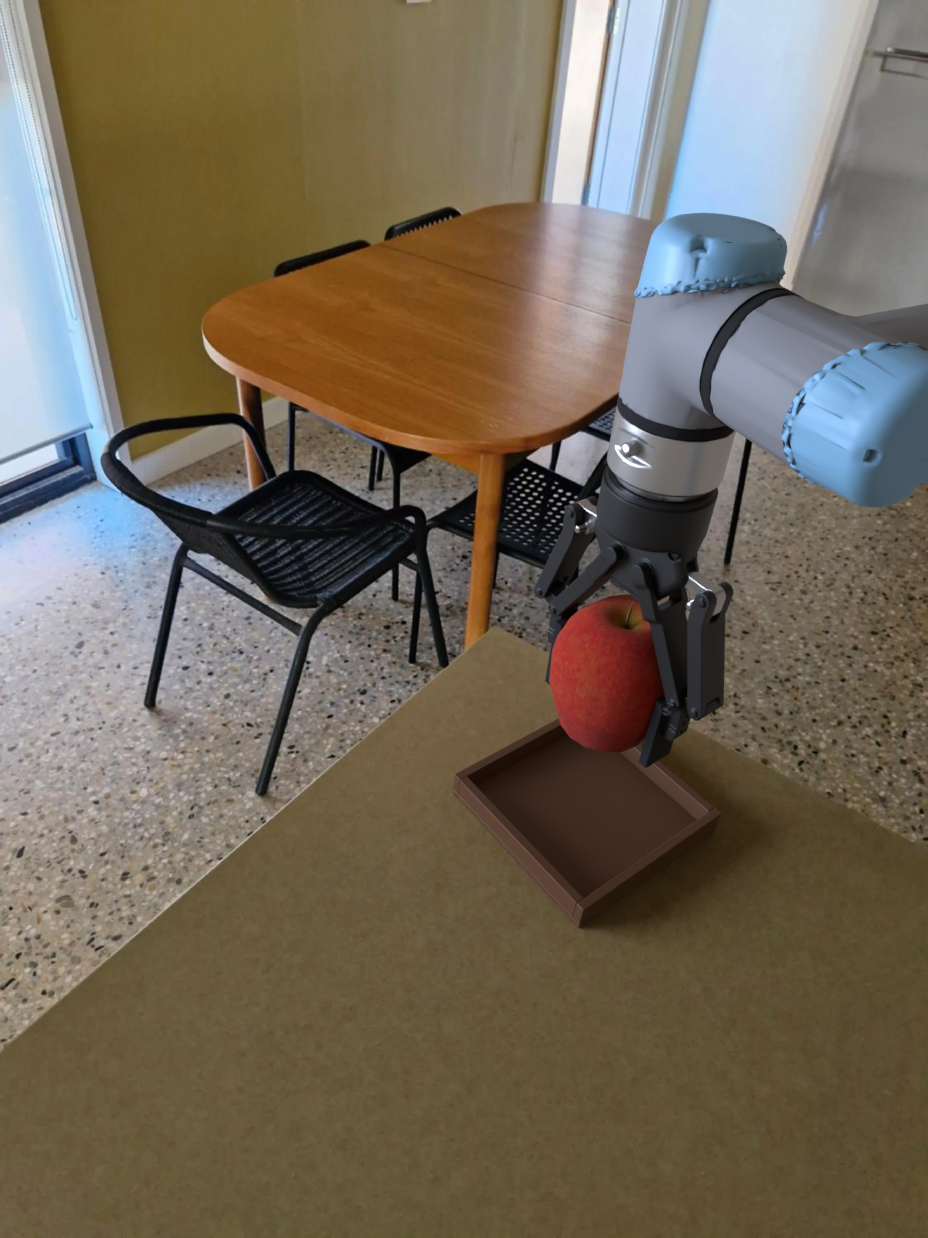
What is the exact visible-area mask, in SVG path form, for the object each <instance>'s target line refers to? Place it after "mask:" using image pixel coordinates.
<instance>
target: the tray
mask: <svg viewBox="0 0 928 1238" xmlns="http://www.w3.org/2000/svg"><path fill="white" fill-rule="evenodd" d="M642 748H643V745H642V744H641V743H639V744H638V745H637V746H636V747H633V748H631V749H628V750H626V751H623V752H602V751H598V750H594V749H590V748H586V747H584V746H582V745H581V744H579V743H578V742H576V741H575V740H573V739H572V738H570V737H569V736H568V734H567V733H566V731H565V730H564V729H563V727H562V726H561V725H560V721H559V718H557V719H555V720H553V721H551V722H549V723H547V724H546V725H545V724H544V725H543V726H542V727H539V728H538V729H536V730H534V731H532V732H530V733H528V734H527V735H525V736H523V737H521V738H519V739H517V740H516V741H514V742H512V743H510V744H508V745H506V746H504V747H503V748H501V749H499V750H497V751H494V753H492V754H490V755H487V756H486V757H484V758H482V759H480V760H479V761H477V762H475V763H472V764H470V765H469V766H467V767H466V768H464V769H462V770H460V771H458V772H456V773H455V774H454V778H453V787H452V794H453V795H455V796H456V798H457V799H458V800H459V801H460V802H461V803H462V805H464V807H465V808H466V809H467V810H468V811H469V812H470V813H471V814H472V815H473V817H475V818H476V819H477V820H478V821H479V822H480V824H481V825H482V826H483V827H484V828H485V829H486V830H487V831H488V832H489V834H490V835H492V837H493V838H494V839H495V840H496V841H497V842H498V843H499V844H500V845H501V846H502V848H504V850H505V851H506V852H507V853H508V854H509V855H510V856H511V857H512V858H513V859H514V860H515V861H516V862H517V864H518V865H519V866H520V867H521V868H522V869H523V870H524V871H525V872H526V873H527V875H528V876H529V877H530V878H531V879H532V880H533V881H534V882H535V883H536V884H537V885H538V886H539V887H540V889H542V891H543V892H544V893H545V894H546V895H547V896H548V897H549V898H550V899H551V901H552V902H553V903H555V905H556V906H557V907H558V908H559V909H560V910H561V911H562V912H563V913H564V914H565V915H566V916H567V917H568V919H569V920H570V921H571V922H572V923H573V924H574V925H575V926H576V928H578V929H580V928H581V927H583V926H584V925H586V924H587V923H588V922H590V921H591V920H592V919H594V918H595V917H596V916H598V915H599V914H601V913H602V912H604V911H605V910H606V909H608V908H610V906H612V905H613V904H615V903H616V902H618V901H619V900H620V899H622V898H623V897H625V896H626V895H628V894H629V893H631V892H632V891H633V890H634V889H636V888H637V887H639V886H640V885H641V884H643V883H645V882H646V881H647V880H649V879H650V878H652V877H653V876H654V875H656V874H657V873H658V872H660V871H661V870H663V869H664V868H665V867H667V866H668V865H670V864H671V863H673V862H674V861H675V860H678V858H680V857H681V856H682V855H683V854H685V853H687V852H688V851H689V850H691V849H692V848H693V847H695V846H696V845H698V844H699V843H701V842H702V841H704V840H705V839H706V838H708V837H709V836H711V834H713V833H714V832H715V831H716V830H717V829H716V828H717V826H718V823H719V821H720V818H721V816H722V812H720V811H719V810H718V809H717V808H715V806H713V805H712V804H711V803H710V802H708V801H707V800H706V799H705V798H704V797H703V796H701V794H699V793H698V792H697V791H696V790H695V789H693V788H692V787H691V786H690V785H688V784H687V783H686V782H685V781H684V780H683V779H682V778H680V777H679V776H678V775H677V774H676V773H674V772H673V770H671V769H670V768H669V767H668V766H666V765H665V764H664V763H663V762H661V760H658V761H657V762H655V763H653V764H652V765H650V766H649V767H647V768H645V767H644V766H642V765H641V764H640V763H639V759H640V755H641V752H642Z"/></svg>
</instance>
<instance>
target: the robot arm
mask: <svg viewBox="0 0 928 1238" xmlns="http://www.w3.org/2000/svg"><path fill="white" fill-rule="evenodd" d="M787 255H788V244H787V240H786V239H785V238H784V236H783V235H782V234H781V233H779V232H778V231H776V229H775V227H772V226H771V225H768V224H765V223H764V222H760V221H757V220H755V219H751V218H747V217H742V216H737V215H733V214H725V213H715V212H691V213H681V214H677V215H673V216H671V217H669V218H667V219H665V220H663V221H662V222H660V223H659V224H658V225H657V226H656V228H655V229H654V230H653V232H652V233H651V237H650V239H649V243H648V247H647V250H646V254H645V257H644V262H643V266H642V270H641V273H640V277H639V281H638V285H637V288H636V289H635V290H634V294H633V297H635V302H634V307H633V312H632V319H631V324H630V330H629V335H628V341H627V347H626V351H625V357H624V363H623V367H622V374H621V380H620V384H619V385H620V386H619V390H618V395H617V403H616V406H615V412H614V418H613V424H612V427H611V428H612V429H611V433H610V438H609V444H608V449H607V454H606V462H607V465H606V467H605V468H604V470H603V473H602V477H601V483H600V488H599V494H598V498H597V497H596V496H595V495H592V496H588V497H587V498H583V499H581V500H577V501H575V502H573V503H570V504H568V505H566V506H565V507H564V513H563V521H562V529H561V532H560V534H559V536H558V538H557V540H556V541H555V544H554V546H553V548H552V550H551V552H550V554H549V556H548V558H547V561H546V563H545V565H544V566H543V568H542V570H541V572H540V575H539V577H538V579H537V580H536V583H535V585H534V586H533V587H534V588H533V591H534V594H535V596H536V597H537V598H538V599H540V600H543V599H544V600H545V602H547V604H548V605H547V609H548V613H549V614H550V618H549V624H548V629H547V634H546V635H547V642H548V643H549V644H550V649H549V656H548V662H547V667H546V673H545V680H544V682H546V683H547V684H548V685H549V686H550V683H549V678H550V667H551V656H552V649H553V647H554V644H555V641H556V638H557V636H558V634H559V633H560V631H561V630H562V629H563V627H564V626H565V624H566V623H567V621H568V620H569V619H570V617H571V616H573V615H574V614H575V613H576V612H577V611H579V610H580V609H577V610H576V608H579V607H581V606H583V605H585V604H586V601H588V599H589V598H591V597H592V596H594V594H595V593H597V592H598V591H599V590H600V589H601V588H602V587H603V586H604V585H606V584H607V583H608V582H610V583H611V584H612V585H614V586H616V587H617V588H618V589H622V590H624V591H626V592H627V593H628V595H631V596H632V597H633V599H635V600H636V601H638V602H639V603H640V607H641V612H642V616H643V619H644V620H645V621H647V622H649V624H650V628H651V633H652V638H653V642H654V647H655V652H656V657H657V661H658V666H659V671H660V675H661V680H662V685H663V690H664V694H665V696H664V697H662V698H661V699H659V700H657V701H656V702H655V706H654V709H653V713H652V716H651V720H650V723H649V727H648V730H647V734H646V737H645V739H644V740H643V744H642V747H643V748H642V752H641V755H640V759H639V763H640V764H641V765H642V766H644V767H645V768H647V767H649V766H650V765H652V764H653V763H655V762H657V761H658V760H659V761H661V760H662V759H663V758H665V757H666V756H668V755H669V754H670V753H671V750H672V747H673V744H674V741H675V740H676V739H677V738H680V737H681V736H682V735H684V734H685V733H686V732H687V731H688V728H689V725H690V722H691V720H693V721H696V722H698V721H700V720H702V719H703V718H705V717H707V716H709V715H711V714H712V713H714V712H715V711H717V710H719V709H720V708H722V707H723V706H724V704H725V702H724V701H725V659H726V658H725V656H726V653H725V652H726V615H727V613H728V609H729V607H730V604H731V601H732V600H733V598H734V597H733V596H734V587H732V585H731V583H729V582H727V581H721V582H719V583H717V584H715V583H714V582H712V581H711V580H709V579H708V578H707V577H705V576H704V575H702V573H700V567H699V561H698V553H699V550H700V548H701V546H702V544H703V542H704V541H705V538H706V536H707V535H708V531H709V528H710V525H711V521H712V518H713V514H714V510H715V507H716V504H717V500H718V496H719V486H720V485H721V484H722V482H723V480H724V476H725V473H726V470H727V466H728V463H729V459H730V455H731V451H732V447H733V444H734V441H735V437H736V434H739V435H740V436H742V437H743V438H745V439H746V440H748V441H750V442H751V443H753V444H754V445H755V446H757V447H759V448H760V449H762V450H763V451H764V452H765V453H768V455H770V456H772V457H774V458H775V459H776V460H778V461H780V462H781V463H782V464H784V465H786V466H787V467H788V468H790V469H791V470H793V472H796V474H797V475H798V477H800V478H802V479H805V481H807V482H808V483H810V484H811V485H818V486H819V487H821V488H822V489H827V490H829V491H831V492H833V493H835V494H837V495H839V496H840V497H842V498H844V499H846V500H848V501H849V502H851V503H853V504H855V505H857V506H861V507H865V508H875V509H876V508H885V507H890V506H893V505H896V504H898V503H901V502H902V501H905V500H906V499H908V498H909V497H910V496H912V494H913V493H914V492H915V491H916V489H917V488H918V486H924V485H927V484H928V303H924V304H917V305H913V306H906V307H901V308H895V309H889V310H883V311H878V312H873V313H872V312H871V313H868V314H862V315H849V314H844V313H841V312H838V311H835V310H833V309H830V308H828V307H826V306H823V305H821V304H818V303H816V302H813V301H810V300H809V299H806V298H804V297H803V296H801V295H800V294H798V293H796V292H794V291H792V290H790V289H788V288H786V287H785V286H783V285H781V281H782V280H784V276H785V275H786V270H785V264H786V258H787ZM594 535H595V537H596V540H597V544H598V548H599V551H600V553H599V555H597V556H596V557H595V558H594V559H593V560H592V561H591V562H590V563H589V564H588V565H586V567H584V571H583V572H582V573H580V574H579V575H578V576H577V577H576V578H575V580H573V581H572V582H570V580H571V579H572V576H573V575H574V573H575V571H576V570H577V567H578V566H579V563H580V562H581V560H582V559H583V557H584V555H585V552H586V550H587V548H588V547H589V545H590V543H591V541H592V539H593V538H594ZM569 582H570V584H569ZM667 597H668V599H667V600H666V601H664V602H662V603H660V604H659V603H658V602H659V601H661V600H663V599H666V598H667ZM687 611H689V613H688V617H687Z"/></svg>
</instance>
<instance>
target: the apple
mask: <svg viewBox="0 0 928 1238" xmlns="http://www.w3.org/2000/svg"><path fill="white" fill-rule="evenodd" d="M578 610H579V611H578ZM578 610H576V611H577V612H576V611H575V612H576V613H575V614H574V615H573V616H571V617H570V619H569V620H568V621H567V623H566V624H565V626H564V627H563V629H562V630H561V631H560V633H559V634H558V636H557V638H556V641H555V644H554V647H553V649H552V656H551V667H550V678H549V683H550V685H549V686H550V691H551V695H552V698H553V701H554V707H555V710H556V713H557V717H558V718H559V721H560V725H561V726H562V727H563V729H564V730H565V731H566V733H567V734H568V736H569V737H570V738H572V739H573V740H575V741H576V742H578V743H579V744H581V745H582V746H584V747H586V748H590V749H594V750H598V751H602V752H623V751H626V750H628V749H631V748H633V747H636V746H637V745H638V744H641V743H643V742H644V741H645V737H646V734H647V730H648V727H649V723H650V720H651V716H652V713H653V709H654V706H655V702H656V701H657V700H659V699H661V698H662V697H664V696H665V694H664V690H663V685H662V680H661V675H660V671H659V666H658V661H657V657H656V652H655V647H654V642H653V638H652V633H651V628H650V624H649V622H647V621H645V620H644V619H643V616H642V612H641V607H640V603H639V602H638V601H636V600H635V599H633V597H632V596H631V595H630V594H629V593H628V594H627V593H626V594H615V595H609V596H607V597H604V598H601V599H599V600H596V601H594V602H591V603H589V604H586V605H584V606H582V607H581V608H580V609H578ZM558 718H557V719H558Z"/></svg>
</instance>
